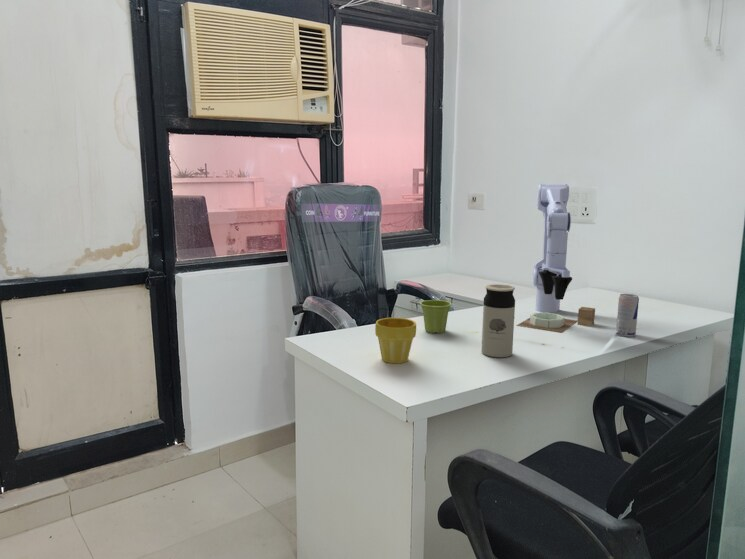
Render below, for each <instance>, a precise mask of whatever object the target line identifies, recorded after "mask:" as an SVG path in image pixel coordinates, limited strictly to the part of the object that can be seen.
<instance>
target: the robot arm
mask: <svg viewBox="0 0 745 559" xmlns="http://www.w3.org/2000/svg"><path fill="white" fill-rule="evenodd" d="M569 186H570V185H568V183H567V184H566V183H565V184H547V183H546V184H543V183H539V185H538V186H537V196H536V201H537V204H536V206H537V209H538V211H541V212H542V216H543V235H542V236H543V238H542V240H543V241H542V242H543V243H542V259H539V261H537V262H535V264H534V266H533V274H532V285H533V286H534V287H536V292H535V293H536V295H535V311H536V312H537V313H553V314H556V313H558V311H562V309H560V307H561V300H564V298H565V295H566V292H567V290H568V288H569V285H570V284H571V282H572V281H573V277H571V276H570V275H571V274H570V273H571V272H570V271H571V270H569V269H568V268H567V266H566V264H567V254H568V253H567V250H568V240H569V239H568V237H569V236H568V235H569V232H570V230H571V226H572V225H571V224H572V215H571V212H570V211H568V209H567V205H568V202H569V201H568V200H569V198H570V187H569Z"/></svg>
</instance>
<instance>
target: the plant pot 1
mask: <svg viewBox="0 0 745 559" xmlns="http://www.w3.org/2000/svg"><path fill="white" fill-rule="evenodd" d="M374 325H375V328H374V330H375V336H376V337H377V340H378V344H379V351H380V357H381V360H382V361H383V362H386V363H388V364H403V363H406V362H408V360H409V357H410V353H411V348H412V343H413V340H414V338H416V337H417V336H416V335H417V322H416V321H414V320H412V319H409V318H405V317H384V318H380V319H377V320H376V322H375V324H374Z"/></svg>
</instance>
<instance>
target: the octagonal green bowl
mask: <svg viewBox="0 0 745 559" xmlns="http://www.w3.org/2000/svg"><path fill="white" fill-rule="evenodd" d="M529 318H530V323H531V324H533V325H535V326H539V327H545V328H560V327H562V326H563V325H564V319H566V318H565V316H564V315H561V314H558V313H543V312H534V313H532V314H530V316H529Z"/></svg>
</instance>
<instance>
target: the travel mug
mask: <svg viewBox="0 0 745 559" xmlns="http://www.w3.org/2000/svg"><path fill="white" fill-rule="evenodd" d="M484 288H485V289H486V294H485V296H484V297H483V306H482V307H483V311H482V332H481V353H482V354H484V355H485V356H488V357H491V358H496V357H497V358H498V357H499V358H502V357H503V358H508V357H511V356H512V354H513V349H514V346H513V345H514V333H515V332H514V328H515V312H516V311H515V309H516V299H515V296H514V291H515V289H516V288H515V286H512V285H509V284H503V283H501V284H500V283H497V284H496V283H495V284H493V283H492V284H486V285H485V287H484ZM497 358H496V359H497Z"/></svg>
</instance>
